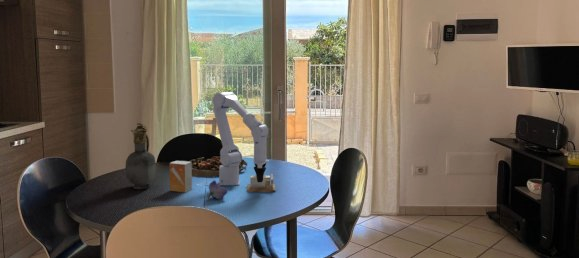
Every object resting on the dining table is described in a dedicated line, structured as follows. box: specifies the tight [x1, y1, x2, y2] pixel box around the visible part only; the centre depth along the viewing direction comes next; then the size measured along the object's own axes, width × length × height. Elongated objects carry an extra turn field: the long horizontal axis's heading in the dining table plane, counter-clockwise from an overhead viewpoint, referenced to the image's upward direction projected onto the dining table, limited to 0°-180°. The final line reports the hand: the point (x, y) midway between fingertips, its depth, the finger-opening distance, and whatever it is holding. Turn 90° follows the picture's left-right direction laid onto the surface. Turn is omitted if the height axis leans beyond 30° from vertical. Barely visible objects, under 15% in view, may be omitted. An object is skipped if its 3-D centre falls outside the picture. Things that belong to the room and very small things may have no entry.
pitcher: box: [125, 122, 157, 190], centre depth 226 cm, size 11×19×30 cm, turn 178°
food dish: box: [190, 155, 248, 178], centre depth 263 cm, size 35×33×8 cm
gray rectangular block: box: [249, 175, 271, 188], centre depth 225 cm, size 9×4×5 cm, turn 93°
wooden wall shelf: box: [246, 173, 276, 193], centre depth 225 cm, size 13×11×6 cm
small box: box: [168, 160, 193, 193], centre depth 221 cm, size 8×6×13 cm
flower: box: [206, 178, 228, 202], centre depth 207 cm, size 9×8×10 cm
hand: (260, 180), depth 225 cm, fingers open, 7 cm apart
